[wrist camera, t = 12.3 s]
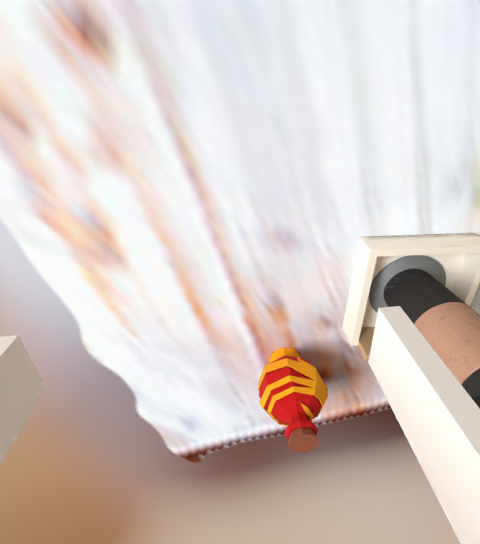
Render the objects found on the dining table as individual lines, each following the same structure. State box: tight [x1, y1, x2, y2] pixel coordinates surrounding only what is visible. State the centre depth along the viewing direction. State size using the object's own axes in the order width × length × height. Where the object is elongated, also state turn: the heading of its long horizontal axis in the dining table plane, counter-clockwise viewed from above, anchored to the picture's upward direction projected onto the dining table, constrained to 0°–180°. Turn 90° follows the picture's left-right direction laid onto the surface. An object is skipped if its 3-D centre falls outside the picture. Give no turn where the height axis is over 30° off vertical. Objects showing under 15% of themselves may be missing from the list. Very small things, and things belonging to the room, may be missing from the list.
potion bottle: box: [258, 347, 328, 453], centre depth 48 cm, size 10×10×15 cm
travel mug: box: [383, 269, 480, 397], centre depth 38 cm, size 8×8×20 cm
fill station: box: [342, 233, 480, 360], centre depth 45 cm, size 16×16×7 cm
